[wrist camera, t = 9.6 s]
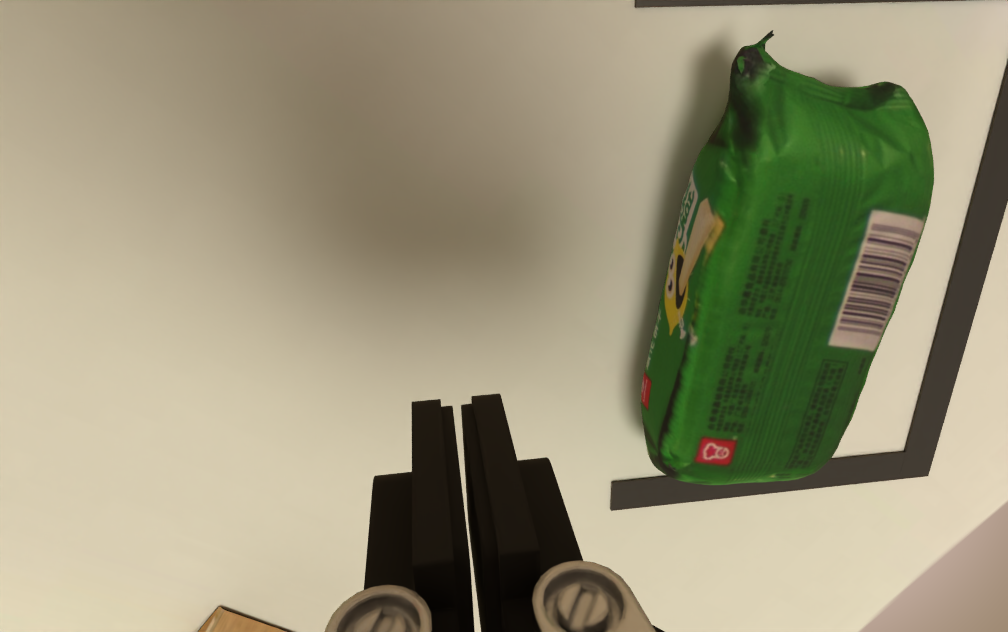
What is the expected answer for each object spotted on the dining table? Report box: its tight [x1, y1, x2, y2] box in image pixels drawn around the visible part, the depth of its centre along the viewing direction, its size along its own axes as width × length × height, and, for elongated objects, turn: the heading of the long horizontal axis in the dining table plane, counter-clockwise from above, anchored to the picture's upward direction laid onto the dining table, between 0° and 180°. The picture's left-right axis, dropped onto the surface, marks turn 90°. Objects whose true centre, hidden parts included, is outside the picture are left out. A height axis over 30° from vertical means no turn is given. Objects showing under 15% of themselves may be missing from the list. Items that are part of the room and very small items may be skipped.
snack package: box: [641, 30, 934, 485], centre depth 21 cm, size 7×16×5 cm, turn 173°
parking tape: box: [610, 0, 1008, 511], centre depth 24 cm, size 22×15×1 cm
